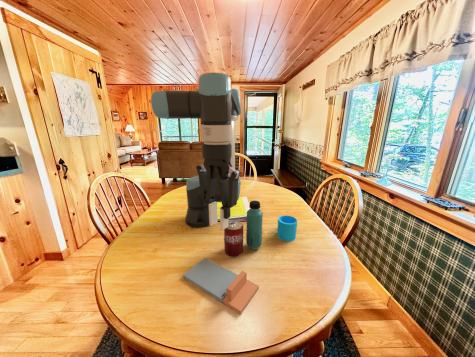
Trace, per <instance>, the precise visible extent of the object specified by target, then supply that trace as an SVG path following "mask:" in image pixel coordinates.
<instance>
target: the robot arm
mask: <svg viewBox="0 0 475 357" xmlns="http://www.w3.org/2000/svg"><path fill="white" fill-rule="evenodd" d="M231 80H232V79H231V76H229V75H228V74H227V73H222V72H205V73H202V74H200V75H199V77H198V89H193V90H165V89H163V90H155V91H153V92H152V94H151V96H150V97H151V99H150V102H151V103H150V104H151V109H152V113H153V114H154V116H155V117H156V118H158V119H166V120H173V119H174V120H175V119H178V120H180V119H181V120H182V119H190V120H191V119H198V120H199V119H200V133H201V134H200V136H201V142H203V143H202V145H201V157H202V158H203V159H204V161H203V163H202V164H198V165H196V167H195V168H196V171H197V175H194V176H192V177H190V178H188V179H187V180H186V182H185V184H186V186H185V187H186V188H185V190H186V200H187V211H186V214H185V217H184V218H185V219H184V220H185V221H184V222H185V224H186V225H187V226H188V227H191V228H205V227H208V226H211V227H213V226H214V225H215V224H217V223H218V221H219V220H220V222H219V224H220V229H219V230H221V231H224V229H225V228H227V227H228V226H229V221H230V220H229V218H231V208H233V207H235V206H236V205H238V201H239V199H240V194H241V185H242V179H241V178H240V176H241V173H242V171H241V170H240V169H238V170H237V169H236V121H237V120H238V119H239V116H240V115H242V107H241V98H240V93H239V90H238V89H237V88H232V82H231ZM218 203H221V207H220V208H219V220H218Z"/></svg>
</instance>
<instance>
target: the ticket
mask: <svg viewBox="0 0 475 357" xmlns="http://www.w3.org/2000/svg"><path fill="white" fill-rule="evenodd" d="M238 275H239V274H237V273H235V272H233V271H231V270H229V269H228V268H226V267H223V266H222V265H219V264H217V263H216V262H214V261H212V260H210V259H208V258H206V257H204V258H202V259H201V260H200V261H198V262H197V263H195V265H194V266H192V267H191V268H190V269H189V270H188V271H186V272H185V273H184V274H183V275H182V276H183V279H185V280H186V281H187V282H189V283H191V284H192V285H194V286H196V287H197V288H198V289H200V290H202V291H203V292H205V293H206V294H208V295H210V297H212V298H214V299H216V300H217V301H219V302H220V303H223V299H224V298H225V297H226V296H227V287H228V286H229V285H230V284H231V283H232V282H233V280H234V279H235V278H236V277H237V276H238Z"/></svg>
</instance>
